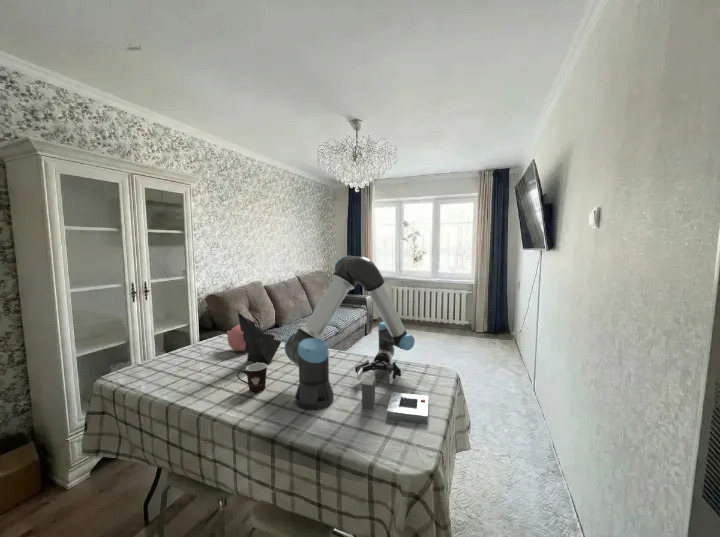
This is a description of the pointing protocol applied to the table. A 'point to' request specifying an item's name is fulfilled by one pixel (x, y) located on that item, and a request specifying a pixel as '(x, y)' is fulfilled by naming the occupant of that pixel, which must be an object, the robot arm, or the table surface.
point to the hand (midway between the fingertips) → (374, 379)
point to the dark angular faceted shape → (257, 342)
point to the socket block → (408, 408)
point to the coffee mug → (255, 376)
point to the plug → (368, 392)
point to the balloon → (236, 339)
